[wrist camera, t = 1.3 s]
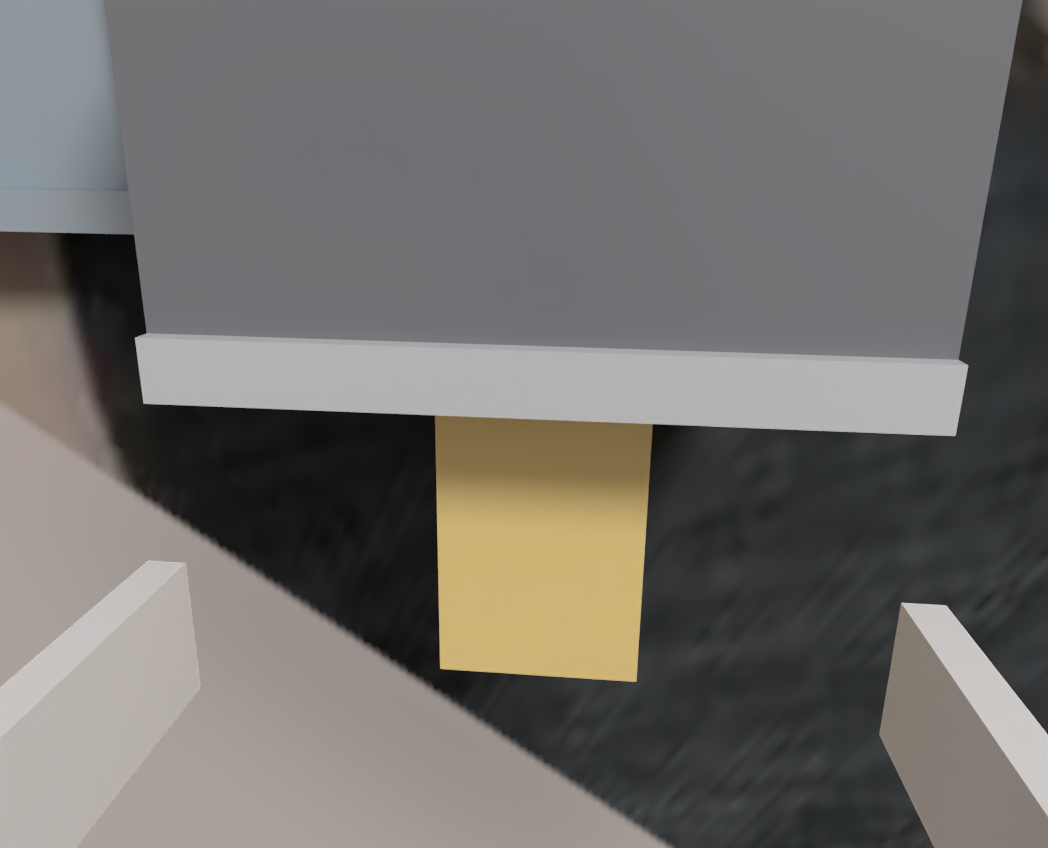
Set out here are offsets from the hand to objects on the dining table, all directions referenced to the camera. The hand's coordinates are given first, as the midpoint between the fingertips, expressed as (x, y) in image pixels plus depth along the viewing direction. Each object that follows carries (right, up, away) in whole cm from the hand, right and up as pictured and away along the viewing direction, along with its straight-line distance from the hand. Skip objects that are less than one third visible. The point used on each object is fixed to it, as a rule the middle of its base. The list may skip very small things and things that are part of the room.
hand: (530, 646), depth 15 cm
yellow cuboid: (+1, +7, +11) cm, 13 cm away
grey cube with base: (+1, +15, +9) cm, 17 cm away
